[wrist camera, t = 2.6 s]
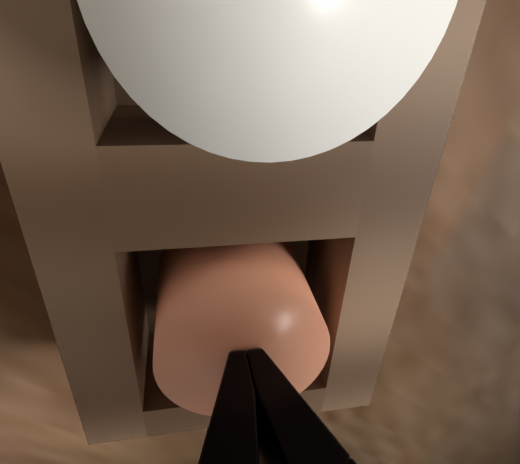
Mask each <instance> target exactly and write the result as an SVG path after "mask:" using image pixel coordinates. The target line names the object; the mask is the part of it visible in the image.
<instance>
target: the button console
mask: <svg viewBox="0 0 520 464" xmlns="http://www.w3.org/2000/svg"><path fill="white" fill-rule="evenodd" d="M485 4H486V0H458V1H457V4H456V8H455V10H454V13H453V15H452V18H451V20H450V22H449V25H448V27H447V30H446V32H445V35H444V36H443V38H442V40H441V42H440V44H439V46H438V48H437V50H436V52H435V53H434V55H433V57H432V59H431V60H430V62H429V63H428V65H427V66H426V68H425V69H424V71H423V72H422V74H421V75H420V77H419V78H418V80H417V81H416V82H415V84H414V85H413V86H412V87H411V88H410V90H409V91H408V92H407V93H406V95H405V96H404V97H403V98H402V99H401V100H400V101H399V102H398V103H397V104H396V105H395V106H394V107H393V108H392V109H391V110H390V111H389V112H388V113H387V114H386V115H385V116H384V117H382V118H381V119H380V120H379V121H377V122H376V123H375V124H374V125H373V126H371V127H370V128H369V129H367V130H366V131H364V132H363V133H361V134H359V135H358V136H356V137H355V138H353V139H352V140H350V141H348V142H346V143H344V144H342V145H340V146H338V147H336V148H333V149H331V150H329V151H326V152H323V153H320V154H317V155H314V156H311V157H307V158H302V159H297V160H293V161H284V162H273V163H268V162H248V161H242V160H236V159H230V158H227V157H223V156H220V155H217V154H213V153H210V152H208V151H205V150H203V149H201V148H199V147H196V146H194V145H192V144H189V143H188V142H186V141H184V140H183V139H181V138H179V137H178V136H176V135H174V134H173V133H171V132H169V131H168V130H167V129H165V128H164V127H163V126H162V125H160V124H159V123H158V122H156V121H155V120H154V119H153V118H151V117H150V116H149V115H148V114H147V113H146V112H145V111H144V110H143V109H142V108H141V107H140V106H139V105H138V104H137V103H136V102H135V101H134V100H133V99H132V98H131V97H130V96H129V95H128V93H127V92H126V91H125V90H124V88H123V87H122V86H121V84H120V83H119V82H118V81H117V79H116V78H115V77H114V76H113V74H112V72H111V71H110V69H109V68H108V66H107V64H106V63H105V61H104V60H103V58H102V56H101V55H100V53H99V52H98V50H97V47H96V45H95V43H94V41H93V39H92V37H91V35H90V33H89V31H88V29H87V27H86V24H85V22H84V19H83V16H82V14H81V11H80V8H79V5H78V2H77V0H0V162H1V165H2V169H3V172H4V175H5V178H6V181H7V185H8V188H9V191H10V194H11V198H12V201H13V204H14V207H15V210H16V214H17V217H18V220H19V223H20V226H21V230H22V233H23V236H24V239H25V242H26V246H27V249H28V252H29V255H30V259H31V262H32V265H33V268H34V271H35V275H36V278H37V281H38V284H39V287H40V291H41V294H42V297H43V300H44V304H45V307H46V310H47V313H48V316H49V320H50V323H51V326H52V329H53V332H54V336H55V339H56V342H57V345H58V349H59V352H60V355H61V358H62V361H63V365H64V368H65V371H66V374H67V377H68V381H69V384H70V387H71V390H72V393H73V397H74V400H75V403H76V406H77V410H78V413H79V416H80V419H81V422H82V426H83V429H84V432H85V435H86V438H87V442H88V445H91V444H98V443H105V442H112V441H119V440H126V439H133V438H140V437H147V436H154V435H161V434H168V433H175V432H182V431H189V430H196V429H204V428H208V426H209V423H210V419H211V416H208V415H202V414H198V413H195V412H192V411H189V410H186V409H184V408H182V407H180V406H178V405H177V404H175V403H174V402H172V401H171V400H170V399H169V398H168V397H166V396H165V395H164V394H163V392H162V391H161V389H160V388H159V387H158V385H157V382H156V380H155V377H154V373H153V349H154V333H155V317H156V301H157V286H158V270H159V261H160V257H161V254H162V251H163V249H178V248H194V247H210V246H226V245H241V244H257V243H273V242H289V243H290V245H291V247H292V250H293V252H294V254H295V256H296V259H297V261H298V263H299V265H300V267H301V270H302V272H303V274H304V276H305V279H306V281H307V283H308V285H309V287H310V290H311V292H312V294H313V296H314V299H315V301H316V303H317V305H318V307H319V310H320V312H321V314H322V316H323V319H324V321H325V323H326V325H327V327H328V331H329V335H330V351H329V355H328V358H327V361H326V363H325V365H324V367H323V369H322V371H321V372H320V374H319V375H318V376H317V377H316V379H315V380H314V381H313V382H312V383H311V384H310V385H309V386H308V387H307V388H306V389H305V390H303V391H302V392H301V393H300V395H301V396H302V397H303V399H304V400H305V401H306V402H307V403H308V405H309V406H310V407H311V408H312V410H313V411H314V412H315V413H316V412H324V411H331V410H338V409H345V408H352V407H359V406H366V405H370V402H371V398H372V395H373V391H374V388H375V384H376V381H377V377H378V374H379V370H380V367H381V364H382V360H383V357H384V353H385V350H386V346H387V343H388V339H389V336H390V332H391V329H392V325H393V322H394V319H395V315H396V312H397V308H398V305H399V301H400V298H401V294H402V291H403V287H404V284H405V281H406V277H407V274H408V270H409V267H410V263H411V260H412V256H413V253H414V249H415V246H416V242H417V239H418V236H419V232H420V229H421V225H422V222H423V218H424V215H425V211H426V208H427V204H428V201H429V198H430V194H431V191H432V187H433V184H434V180H435V177H436V173H437V170H438V166H439V163H440V159H441V156H442V153H443V149H444V146H445V142H446V139H447V135H448V132H449V128H450V125H451V121H452V118H453V114H454V111H455V108H456V104H457V101H458V97H459V94H460V90H461V87H462V83H463V80H464V76H465V73H466V70H467V66H468V63H469V59H470V56H471V52H472V49H473V45H474V42H475V38H476V35H477V31H478V28H479V25H480V21H481V18H482V14H483V11H484V7H485Z"/></svg>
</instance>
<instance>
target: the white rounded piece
mask: <svg viewBox="0 0 520 464" xmlns="http://www.w3.org/2000/svg"><path fill="white" fill-rule="evenodd" d="M457 1H458V0H77V2H78V5H79V8H80V11H81V14H82V16H83V19H84V22H85V24H86V27H87V29H88V31H89V33H90V35H91V37H92V39H93V41H94V43H95V45H96V47H97V50H98V52H99V53H100V55H101V56H102V58H103V60H104V61H105V63H106V64H107V66H108V68H109V69H110V71H111V72H112V74H113V76H114V77H115V78H116V79H117V81H118V82H119V83H120V84H121V86H122V87H123V88H124V90H125V91H126V92H127V93H128V95H129V96H130V97H131V98H132V99H133V100H134V101H135V102H136V103H137V104H138V105H139V106H140V107H141V108H142V109H143V110H144V111H145V112H146V113H147V114H148V115H149V116H150V117H151V118H153V119H154V120H155V121H156V122H158V123H159V124H160V125H162V126H163V127H164V128H165V129H167V130H168V131H169V132H171V133H173V134H174V135H176V136H178V137H179V138H181V139H183V140H184V141H186V142H188V143H189V144H192V145H194V146H196V147H199V148H201V149H203V150H205V151H208V152H210V153H213V154H217V155H220V156H223V157H227V158H230V159H236V160H242V161H248V162H268V163H273V162H284V161H293V160H297V159H302V158H307V157H311V156H314V155H317V154H320V153H323V152H326V151H329V150H331V149H333V148H336V147H338V146H340V145H342V144H344V143H346V142H348V141H350V140H352V139H353V138H355V137H356V136H358V135H359V134H361V133H363V132H364V131H366V130H367V129H369V128H370V127H371V126H373V125H374V124H375V123H376V122H377V121H379V120H380V119H381V118H382V117H384V116H385V115H386V114H387V113H388V112H389V111H390V110H391V109H392V108H393V107H394V106H395V105H396V104H397V103H398V102H399V101H400V100H401V99H402V98H403V97H404V96H405V95H406V93H407V92H408V91H409V90H410V88H411V87H412V86H413V85H414V84H415V82H416V81H417V80H418V78H419V77H420V75H421V74H422V72H423V71H424V69H425V68H426V66H427V65H428V63H429V62H430V60H431V59H432V57H433V55H434V53H435V52H436V50H437V48H438V46H439V44H440V42H441V40H442V38H443V36H444V35H445V32H446V30H447V27H448V25H449V22H450V20H451V18H452V15H453V13H454V10H455V8H456V4H457Z"/></svg>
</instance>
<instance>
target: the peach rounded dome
mask: <svg viewBox="0 0 520 464" xmlns="http://www.w3.org/2000/svg"><path fill="white" fill-rule="evenodd" d="M254 348H262V349H263V350H264V351H265V352H266V353H267V354H268V355H269V357H270V358H271V359H272V360H273V362H274V363H275V364H276V365H277V367H278V368H279V369H280V370H281V371H282V373H283V374H284V375H285V376H286V378H287V379H288V380H289V381H290V383H291V384H292V385H293V386H294V387H295V389H296V390H297V391H298V392H299V394H300V393H301V392H302V391H303V390H305V389H306V388H307V387H308V386H309V385H310V384H311V383H312V382H313V381H314V380H315V379H316V377H317V376H318V375H319V374H320V372H321V371H322V369H323V367H324V365H325V363H326V361H327V358H328V355H329V351H330V335H329V331H328V327H327V325H326V323H325V321H324V319H323V316H322V314H321V312H320V310H319V307H318V305H317V303H316V301H315V299H314V296H313V294H312V292H311V290H310V287H309V285H308V283H307V281H306V279H305V276H304V274H303V272H302V270H301V267H300V265H299V263H298V261H297V259H296V256H295V254H294V252H293V250H292V247H291V245H290V243H289V242H273V243H257V244H241V245H226V246H210V247H194V248H178V249H163V251H162V254H161V257H160V261H159V270H158V286H157V301H156V317H155V333H154V349H153V373H154V377H155V380H156V382H157V385H158V387H159V388H160V389H161V391H162V392H163V394H164V395H165V396H166V397H168V398H169V399H170V400H171V401H172V402H174V403H175V404H177V405H178V406H180V407H182V408H184V409H186V410H189V411H192V412H195V413H198V414H202V415H208V416H211V415H212V412H213V408H214V405H215V401H216V397H217V394H218V390H219V386H220V383H221V379H222V375H223V372H224V368H225V364H226V361H227V357H228V354H229V352H230V351H236V350H245V351H247V350H248V349H254Z"/></svg>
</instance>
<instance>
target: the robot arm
mask: <svg viewBox="0 0 520 464" xmlns="http://www.w3.org/2000/svg"><path fill="white" fill-rule="evenodd" d="M349 458H350V455H349V454H348V453H347V451H346V450H345V449H344V448H343V447H342V445H341V444H340V443H339V442H338V440H337V439H336V438H335V437H334V435H333V434H332V433H331V432H330V431H329V429H328V428H327V427H326V426H325V424H324V423H323V422H322V421H321V419H320V418H319V417H318V416H317V415H316V413H315V412H314V411H313V410H312V408H311V407H310V406H309V405H308V403H307V402H306V401H305V400H304V399H303V397H302V396H301V395H300V394H299V392H298V391H297V390H296V389H295V387H294V386H293V385H292V384H291V383H290V381H289V380H288V379H287V378H286V376H285V375H284V374H283V373H282V371H281V370H280V369H279V368H278V367H277V365H276V364H275V363H274V362H273V360H272V359H271V358H270V357H269V355H268V354H267V353H266V352H265V351H264V350H263V349H262V348H254V349H248V350H247V351H245V350H236V351H230V352H229V354H228V357H227V361H226V364H225V368H224V372H223V375H222V379H221V383H220V386H219V390H218V394H217V397H216V401H215V405H214V408H213V412H212V415H211V419H210V423H209V426H208V430H207V434H206V437H205V441H204V445H203V448H202V452H201V455H200V459H199V463H198V464H356V462H355V461H354V460H353V459H352V458H350V459H349Z"/></svg>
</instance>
